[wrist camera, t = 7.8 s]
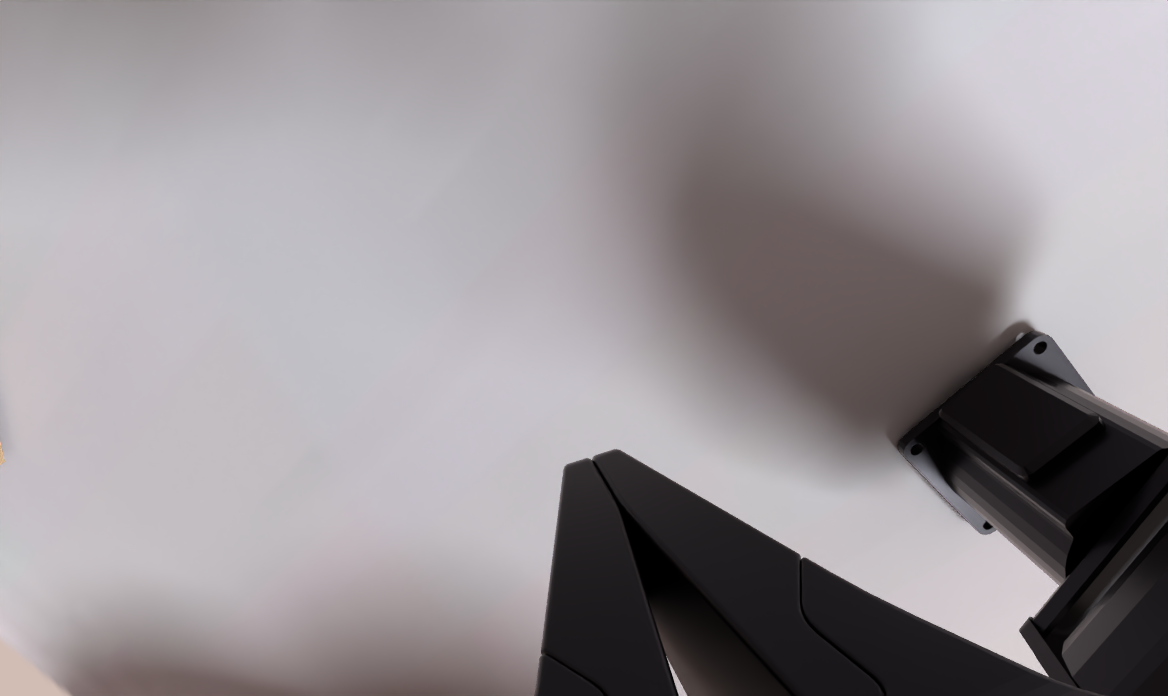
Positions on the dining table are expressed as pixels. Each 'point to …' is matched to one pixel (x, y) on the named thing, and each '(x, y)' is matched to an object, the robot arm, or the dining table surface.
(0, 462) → the oak block
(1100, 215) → the dining table surface
